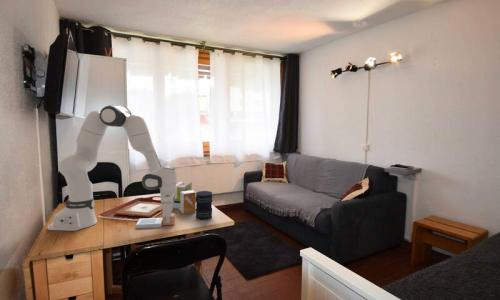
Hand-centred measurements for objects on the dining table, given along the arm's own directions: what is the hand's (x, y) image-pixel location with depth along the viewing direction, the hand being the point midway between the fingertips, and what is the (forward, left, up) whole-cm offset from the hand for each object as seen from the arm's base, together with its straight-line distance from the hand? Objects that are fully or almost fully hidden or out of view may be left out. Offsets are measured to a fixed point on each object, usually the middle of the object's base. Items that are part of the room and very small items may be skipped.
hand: (169, 219), depth 151 cm
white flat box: (-10, 0, -3) cm, 11 cm away
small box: (+9, +19, -3) cm, 21 cm away
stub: (0, 0, -2) cm, 2 cm away
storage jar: (+19, +8, -3) cm, 21 cm away
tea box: (+4, +33, -3) cm, 33 cm away
